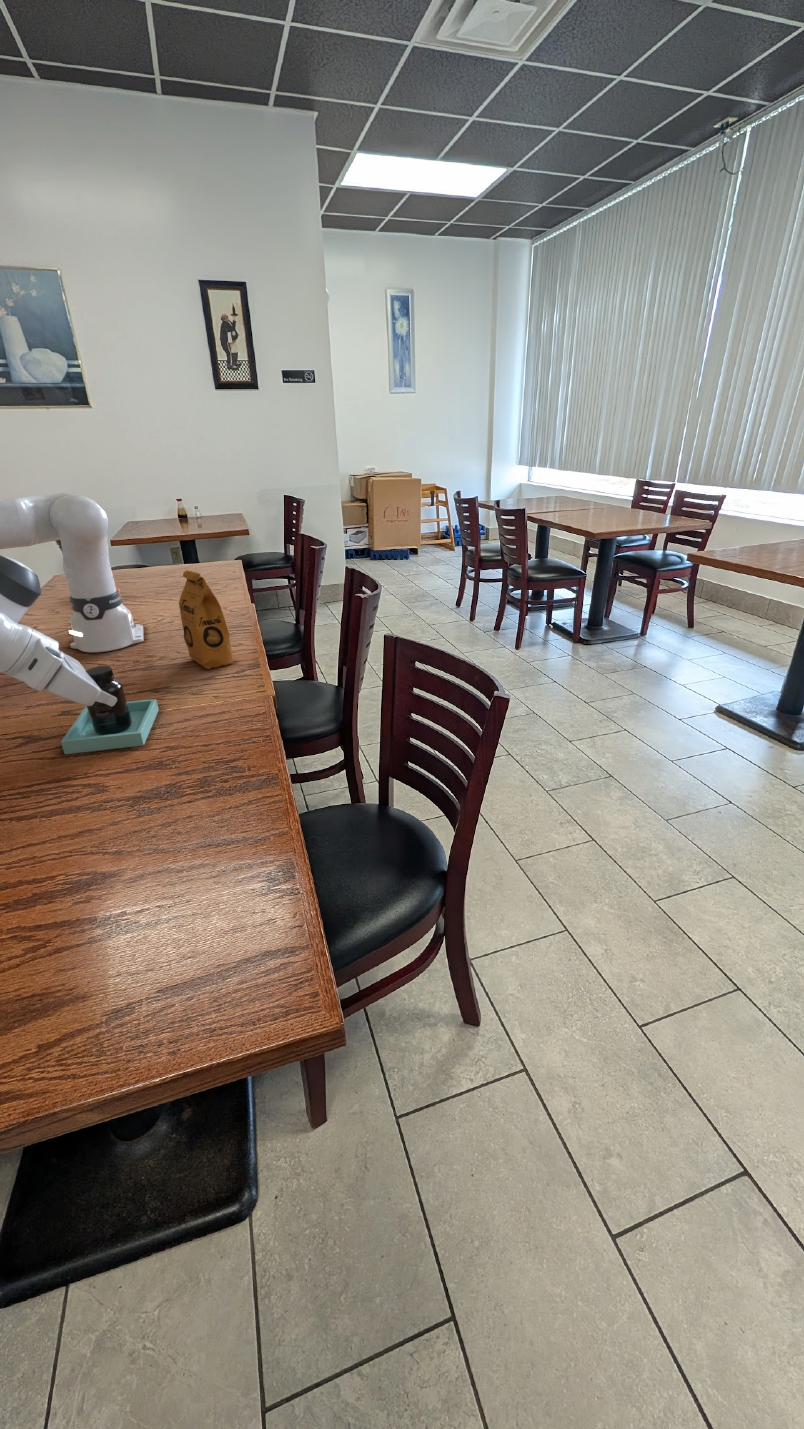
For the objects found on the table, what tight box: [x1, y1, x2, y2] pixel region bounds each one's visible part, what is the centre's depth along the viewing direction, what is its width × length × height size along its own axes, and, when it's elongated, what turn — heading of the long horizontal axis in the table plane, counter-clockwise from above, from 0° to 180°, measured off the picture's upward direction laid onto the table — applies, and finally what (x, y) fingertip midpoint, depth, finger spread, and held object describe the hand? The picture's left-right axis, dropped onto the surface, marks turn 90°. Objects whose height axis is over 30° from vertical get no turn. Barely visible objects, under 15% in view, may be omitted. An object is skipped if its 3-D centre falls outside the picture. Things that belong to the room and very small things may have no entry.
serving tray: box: [60, 698, 160, 755], centre depth 113 cm, size 16×14×3 cm
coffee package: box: [178, 569, 234, 670], centre depth 142 cm, size 10×12×22 cm
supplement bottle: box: [85, 665, 132, 735], centre depth 111 cm, size 7×7×12 cm
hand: (108, 694), depth 111 cm, fingers open, 8 cm apart
